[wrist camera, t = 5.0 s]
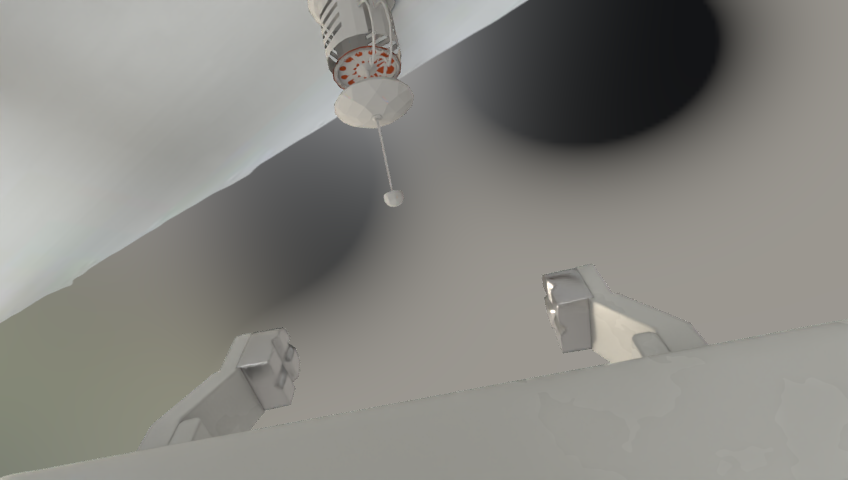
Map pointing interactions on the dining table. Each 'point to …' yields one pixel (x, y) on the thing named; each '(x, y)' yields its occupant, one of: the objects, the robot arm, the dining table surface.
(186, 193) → the dining table surface
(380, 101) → the slotted white cylinder
